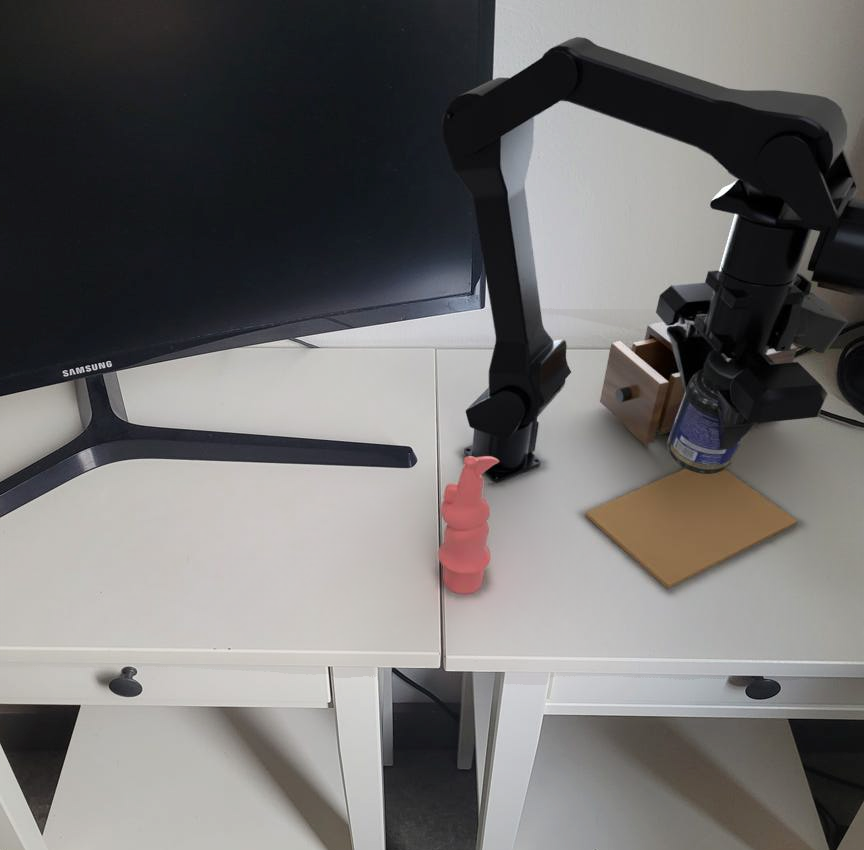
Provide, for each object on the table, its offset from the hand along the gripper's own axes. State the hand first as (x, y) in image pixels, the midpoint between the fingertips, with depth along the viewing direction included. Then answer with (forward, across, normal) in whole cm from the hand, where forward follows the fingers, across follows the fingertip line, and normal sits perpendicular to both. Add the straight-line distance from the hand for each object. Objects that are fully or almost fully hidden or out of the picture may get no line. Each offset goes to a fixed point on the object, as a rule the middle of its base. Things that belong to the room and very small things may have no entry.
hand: (709, 426), depth 76 cm
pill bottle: (+4, 0, 0) cm, 4 cm away
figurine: (+13, -3, +24) cm, 27 cm away
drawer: (+12, +18, -5) cm, 22 cm away
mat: (+13, +1, -2) cm, 13 cm away
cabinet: (+13, +20, -12) cm, 26 cm away
